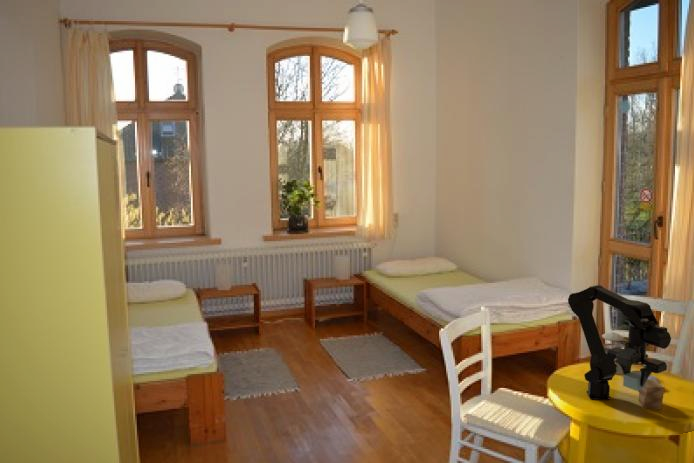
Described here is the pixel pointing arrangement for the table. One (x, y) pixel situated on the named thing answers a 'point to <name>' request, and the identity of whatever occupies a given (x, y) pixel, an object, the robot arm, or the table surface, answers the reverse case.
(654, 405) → the tower base
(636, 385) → the slate block
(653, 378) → the stone block
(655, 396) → the tower mid
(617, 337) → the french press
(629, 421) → the table surface
